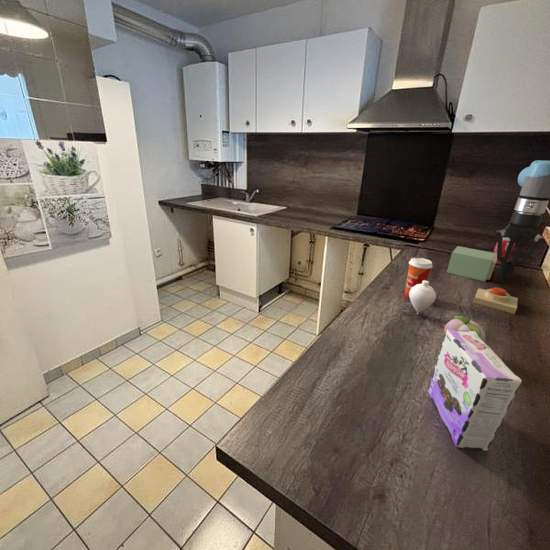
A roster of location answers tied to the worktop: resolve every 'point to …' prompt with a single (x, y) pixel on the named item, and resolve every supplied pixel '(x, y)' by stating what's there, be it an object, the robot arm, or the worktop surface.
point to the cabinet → (470, 263)
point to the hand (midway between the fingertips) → (502, 280)
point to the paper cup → (417, 273)
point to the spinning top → (422, 296)
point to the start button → (498, 291)
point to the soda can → (503, 248)
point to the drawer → (492, 267)
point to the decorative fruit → (465, 326)
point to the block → (496, 300)
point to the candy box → (471, 389)
